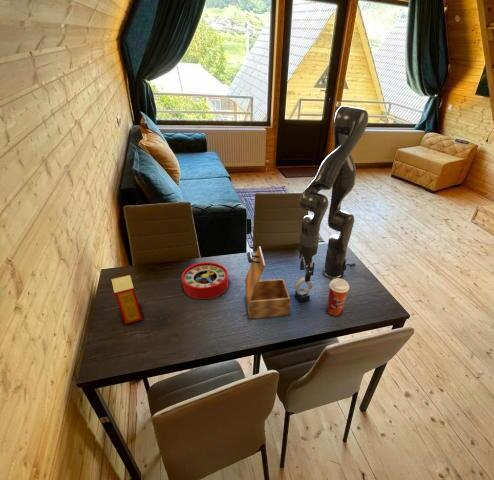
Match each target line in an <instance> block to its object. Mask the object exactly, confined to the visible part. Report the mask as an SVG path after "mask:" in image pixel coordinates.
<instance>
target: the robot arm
mask: <svg viewBox="0 0 494 480" xmlns="http://www.w3.org/2000/svg"><path fill="white" fill-rule="evenodd" d="M333 121H334V122H333V144H334V145H333V151H332V152H331V153H330V154H328V155H327V156H326V157H325V159H324V160H323V161H322V162H321V164H320V166H319V169H318V170H317V172H316V174H315V177H314V178H313V180H312V181H311V182H310V183H309V184H308V186H307V187H306V188H305V189H304V191H303V192H302V193H301V195H300V197H299V206H300V208H301V209H303V210H305V211H308V212H310V213H313V214H309V215H305V216H304V217H303V218H302V220H301V222H302V223H301V230H300V234H299V243H298V253H299V254H298V255H299V256H298V259H299V262H300V264H299V270H300V271H304V272H305V273H304V277H305V281H304V282H305V283H306V282H309V281H310V282H311V277H313V276H314V271H315V262H313V261H314V258H313V257H314V256H316V255H317V254H318V248H319V241H320V230H321V224H322V221H323V219H324V216H325V214H326V212H327V210H328V208H329V211H328V217H327V225H328V228H329V229H331V230H334V231H336V232H338V233H334V234H332V235H330V236H329V237H328V241H327V247H326V253H325V261H324V266H323V271H322V273H323V275H324V276H325V277H327V278H329V279H332V280H333V279H336V278H340V279H341V277H344V274H345V271H347V266H349V267H352V266H355V265H356V264H355V263H352V264H350V263H347V259H346V256H347V251H348V246H349V242H350V240H351V236H352V232H353V229H354V225H355V216H354V215H353V214H352V213H350V212H346V211H344V210H342V204H343V201H344V199H345V198H346V197H347V196H348V195H349V194H350V193H351V192H352V191H353V189H354V186H355V183H356V176H357V167H356V164H355V161H354V158H353V157H352V154H351V153H352V152H353V150H354V149H355V147H356V146H357V144H358V143H359V141H360V140H361V138H362V137H363V135H364V134H365V131H366V129H367V127H368V124H369V113H368V111H367V110H366V109H364V108H360V107H354V106H350V105H349V106H348V105H341V106H339V107H338V108H337V110H336V112H335V115H334V120H333ZM330 190H331V195H330V204H329V199H328V197H327V196H326V195H325V194H321V193H319V192H321V191H330Z"/></svg>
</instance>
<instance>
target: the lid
mask: <svg viewBox="0 0 494 480" xmlns="http://www.w3.org/2000/svg"><path fill="white" fill-rule="evenodd" d="M262 250H263V249H262V246H260V245H258V247H257V249H256V252H255V254H253V253H252V252H251V251H250V252H248V251H247V253H246V256H247V262H248V263H249V264H250V266H249V269H248V271H247V274H246V276H245V278H244V285H245V293H246V292H247V298H248V301H249V302H250V300H251V298H252V295H253V293H254V291H255V289H256V286H257V284H258V282H259V280H261V277H262V275H263V272H264V271H265V268H266V261H265V257H264V254H263V251H262Z"/></svg>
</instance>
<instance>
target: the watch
mask: <svg viewBox="0 0 494 480" xmlns="http://www.w3.org/2000/svg"><path fill="white" fill-rule="evenodd" d="M304 282H305V276H303V277H300V278H299V279H297V281H296V282H295V284H294V297H295V299H296V300H297V301H298V302H299V303H300V304H304V303H307V302H310V299H311V298H310V297H311V295H310V294H309V293H310V292H311V290H312V289H313V287H314V285H313V283H312V282H311V280H310V281H309V282H305V284H306V285H307V287H306V288H300V289H299V286H300V285H301V284H302V283H304Z"/></svg>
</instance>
